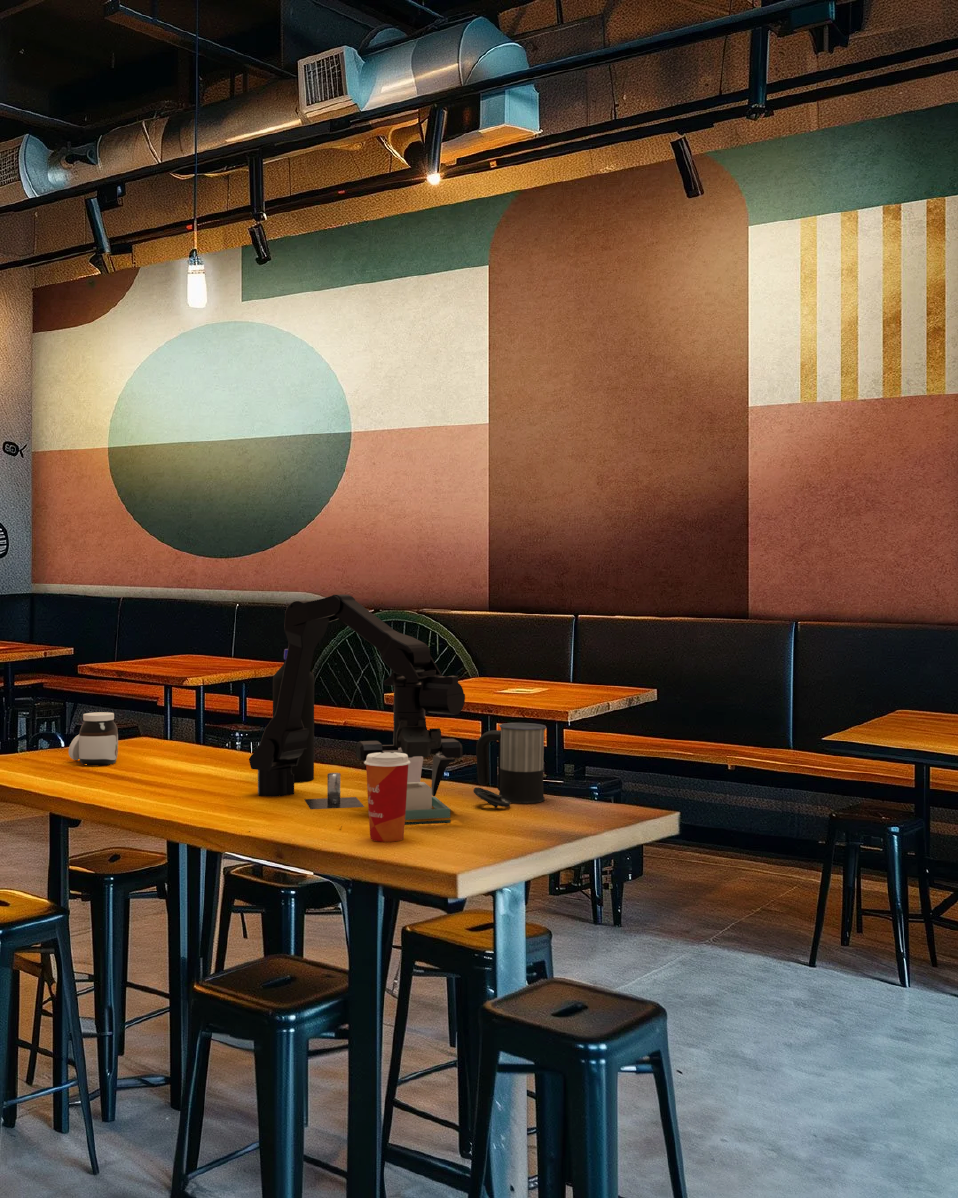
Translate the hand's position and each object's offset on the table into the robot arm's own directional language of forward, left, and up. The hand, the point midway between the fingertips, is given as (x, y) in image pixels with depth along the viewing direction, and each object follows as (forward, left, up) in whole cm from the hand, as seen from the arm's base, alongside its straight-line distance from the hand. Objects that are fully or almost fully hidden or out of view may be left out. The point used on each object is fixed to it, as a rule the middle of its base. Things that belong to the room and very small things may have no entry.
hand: (408, 797), depth 217 cm
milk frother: (+22, +9, -4) cm, 24 cm away
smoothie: (+5, +24, -4) cm, 25 cm away
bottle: (-16, +46, -4) cm, 49 cm away
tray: (0, 0, -4) cm, 4 cm away
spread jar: (-59, +79, -4) cm, 99 cm away
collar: (0, 0, -3) cm, 3 cm away
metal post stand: (-12, +12, -4) cm, 17 cm away
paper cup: (-7, -16, -4) cm, 18 cm away
